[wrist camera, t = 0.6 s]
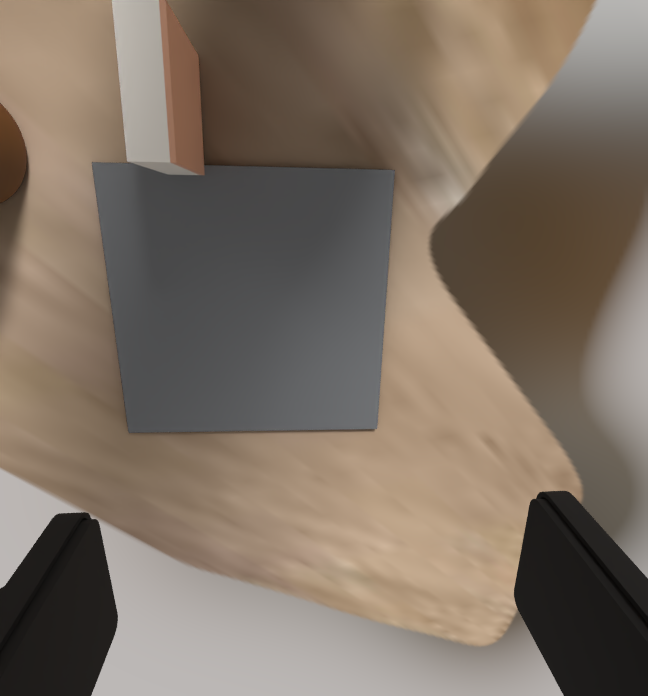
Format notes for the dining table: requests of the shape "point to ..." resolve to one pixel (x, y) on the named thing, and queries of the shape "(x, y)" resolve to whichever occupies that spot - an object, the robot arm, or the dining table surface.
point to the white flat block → (158, 88)
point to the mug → (10, 155)
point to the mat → (247, 295)
